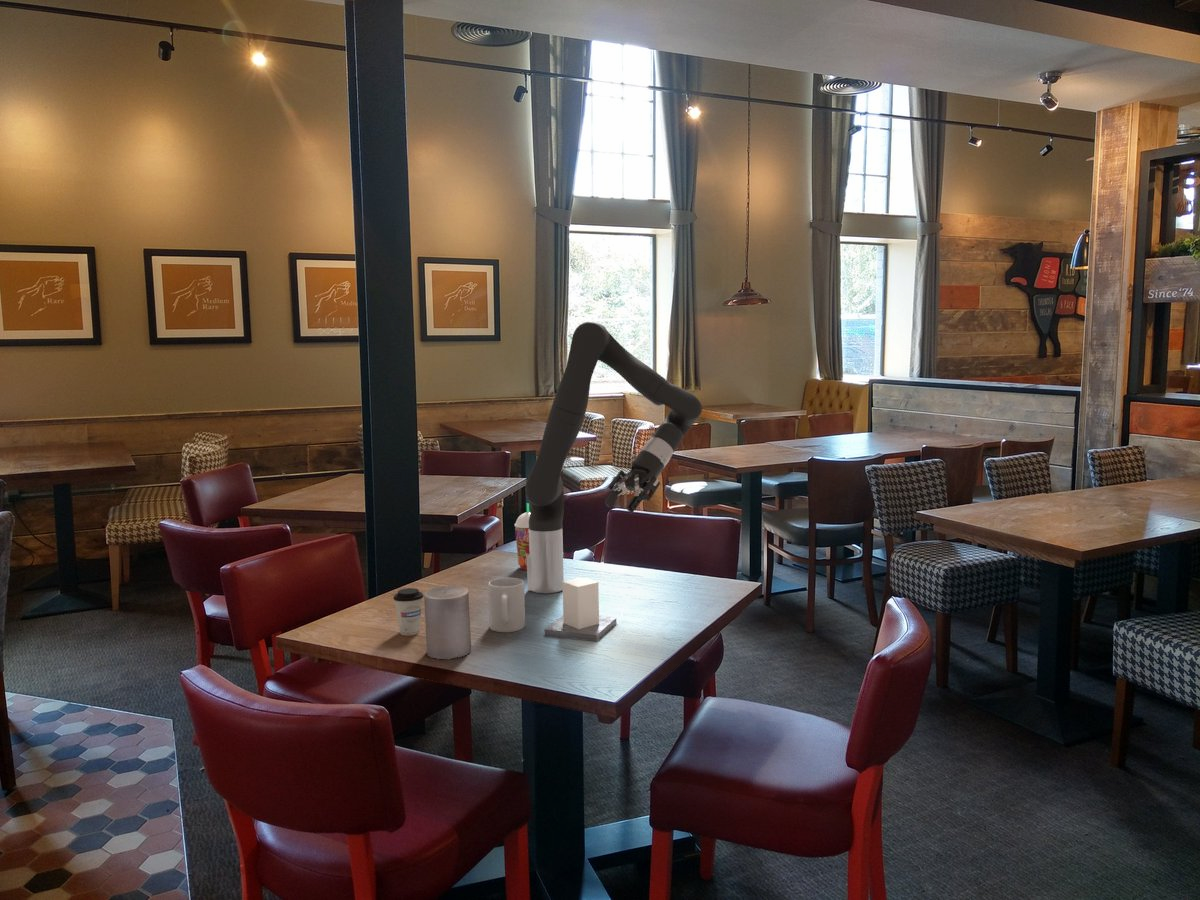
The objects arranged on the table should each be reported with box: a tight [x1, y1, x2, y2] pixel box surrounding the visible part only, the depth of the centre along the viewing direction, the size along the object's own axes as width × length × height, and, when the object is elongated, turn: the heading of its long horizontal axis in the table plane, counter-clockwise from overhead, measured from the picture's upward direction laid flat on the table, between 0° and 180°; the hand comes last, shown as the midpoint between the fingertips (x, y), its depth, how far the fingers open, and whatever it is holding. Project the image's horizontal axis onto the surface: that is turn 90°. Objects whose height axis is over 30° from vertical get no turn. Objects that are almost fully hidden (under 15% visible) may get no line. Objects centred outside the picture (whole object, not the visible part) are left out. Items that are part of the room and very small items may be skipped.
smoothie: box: [514, 502, 531, 571], centre depth 255 cm, size 8×8×20 cm
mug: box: [487, 577, 526, 633], centre depth 199 cm, size 12×8×11 cm
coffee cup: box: [393, 587, 424, 636], centre depth 198 cm, size 7×7×10 cm
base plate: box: [543, 615, 617, 642], centre depth 197 cm, size 13×13×8 cm
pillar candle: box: [423, 585, 472, 660], centre depth 184 cm, size 10×10×15 cm
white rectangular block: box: [562, 577, 600, 629], centre depth 197 cm, size 6×6×10 cm
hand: (617, 507), depth 209 cm, fingers open, 8 cm apart
